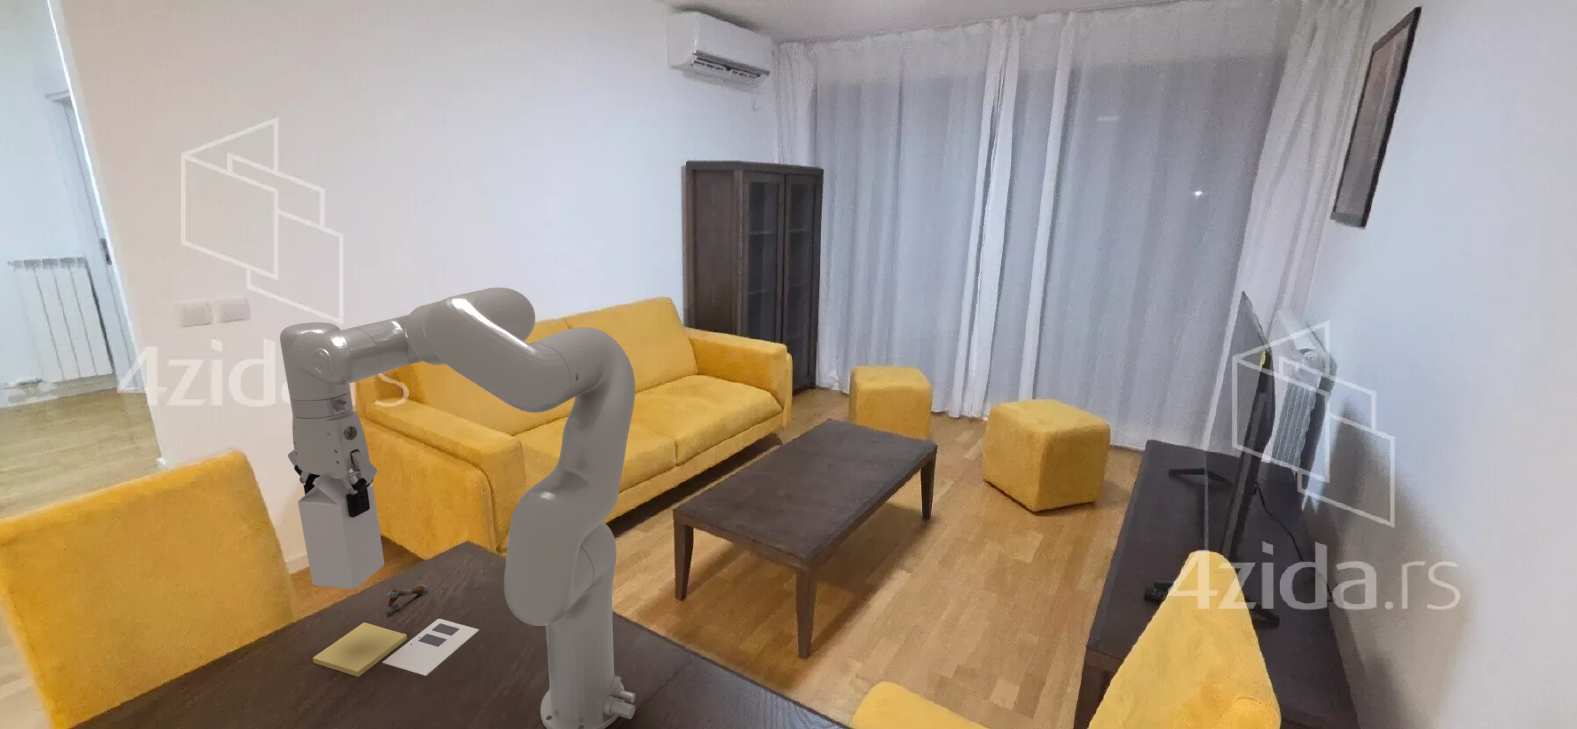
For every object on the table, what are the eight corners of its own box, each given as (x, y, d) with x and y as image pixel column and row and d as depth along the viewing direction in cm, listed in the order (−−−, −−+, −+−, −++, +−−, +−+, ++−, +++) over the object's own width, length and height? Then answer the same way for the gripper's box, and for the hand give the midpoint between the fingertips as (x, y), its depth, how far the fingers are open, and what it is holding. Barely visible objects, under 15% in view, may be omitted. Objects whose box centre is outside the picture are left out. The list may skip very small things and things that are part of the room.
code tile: (479, 630, 117) (479, 629, 117) (426, 677, 106) (425, 675, 106) (438, 619, 120) (438, 618, 120) (382, 663, 109) (382, 662, 109)
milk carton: (385, 565, 110) (370, 462, 105) (353, 590, 103) (336, 481, 98) (345, 561, 111) (329, 458, 106) (312, 586, 104) (292, 477, 99)
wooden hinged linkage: (378, 614, 119) (385, 589, 119) (414, 606, 126) (420, 582, 127) (386, 616, 118) (392, 591, 119) (421, 608, 126) (427, 584, 126)
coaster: (407, 639, 114) (406, 634, 114) (358, 676, 105) (357, 671, 105) (364, 627, 117) (363, 622, 116) (313, 662, 108) (312, 657, 108)
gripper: (389, 404, 100) (402, 507, 105) (303, 389, 105) (319, 489, 109) (344, 420, 93) (360, 530, 98) (254, 404, 98) (273, 509, 102)
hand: (338, 508), depth 104 cm, fingers closed on milk carton, 8 cm apart
